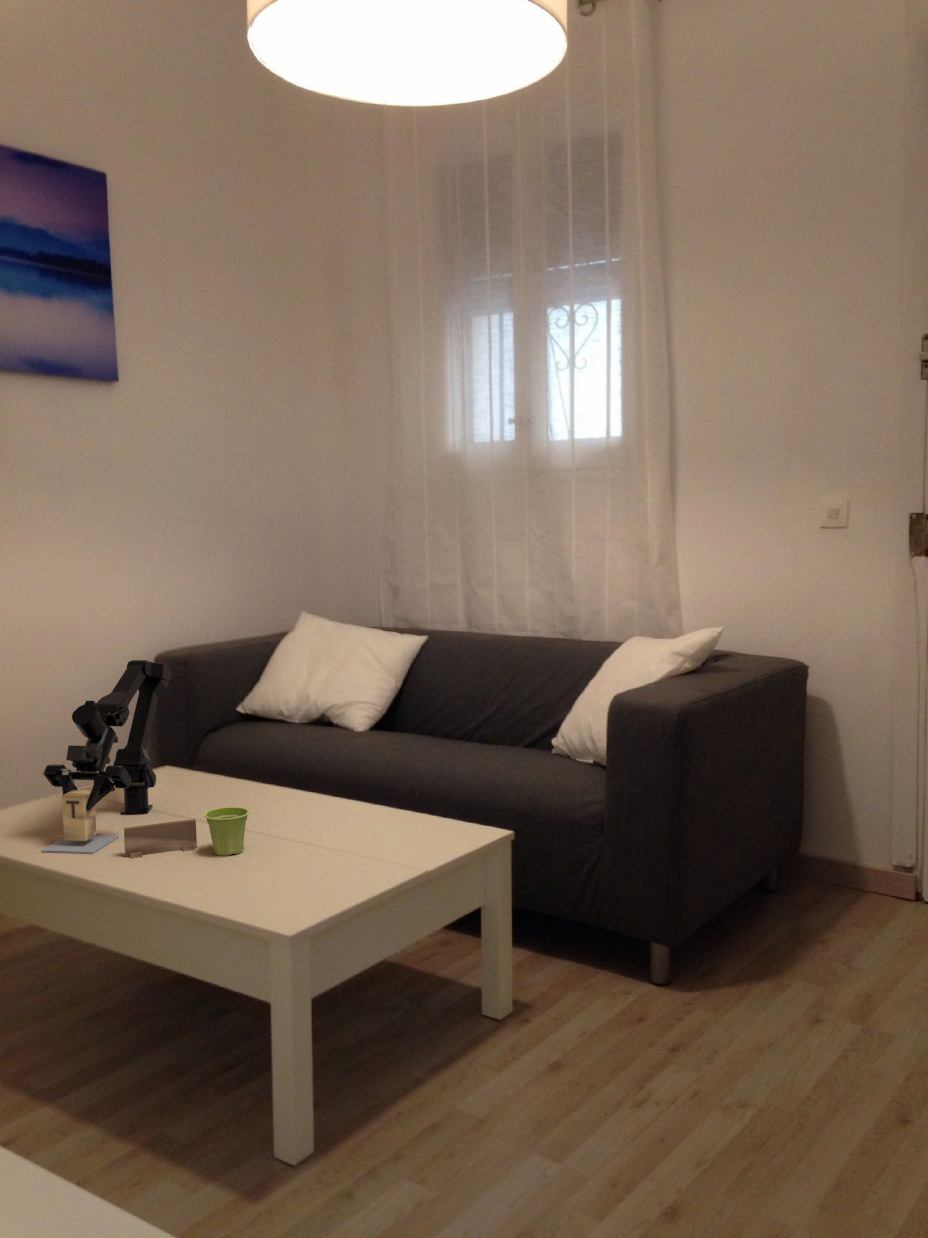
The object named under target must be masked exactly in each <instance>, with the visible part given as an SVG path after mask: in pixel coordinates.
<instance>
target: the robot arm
mask: <svg viewBox="0 0 928 1238" xmlns="http://www.w3.org/2000/svg"><path fill="white" fill-rule="evenodd" d="M122 673H123V674H122V675H121V676H120V679H119V680H118V681H117V683H116V685H115V686H114V687H113V689H112V691H110V693H108V694H107V695H105V696H102V697H101V698H100V699H99V700H98V701H95V700H85V703H84V704H82V705H80V706H78V707H77V708H76V709H75V710H74V711H73V712H72V714H71V720H72V721H73V724H74V725H75V726H76V728H77V729H78V730H79V732H80V733H81V735H82V736H84V737H85V738H86V742H85V745H72V744H71V745H68V747H67V752H66V759H65V760H66V761H70V762H72V763H71V766H72V767H73V768H75V770H71V769H69V768H67V767H66V765H64V764H47V765H46V766H45V768H44V770H43V773H42V774H43V776H44V777H45V778H46V780H47V781H48V782H49V783H50V785H51V786H53V787H56V788H61V789H62V795H64V794H66V793H68V792H70V791H72V790H79V789H78V787H77V786H76V784H75V782H76V781H77V780H78V781H93V786H92V789H91V790H92V791H91V794H90V796H89V799H88V802H87V806H86V810H87V811H89V810H90V809H91V808H93V807H94V806H95V807H96V805H97V804H98V803H100V801H101V800H103V798H105V797H106V796H107V795H109V794H110V793H111V792H115V790H116V789H123V799H124V800H123V801H124V807H123V809H122V810H121V811H120V815H133V814H134V815H137V814H139V815H140V814H148V813H149V812H150V810H151V809H152V808H153V804H149V789H150V788H154V787H155V786H156V785H157V784H156V782H157V775H156V773H155V771H153V768H152V767H151V758H150V757H149V754H148V752H147V749H148V746H149V741H150V736H151V730H152V727H153V722H154V717H155V713H156V710H157V703H158V700H159V697H160V696H162V695H163V693H165V691H166V690H167V689H168V686H169V683H170V680H171V679H172V675H173V672H172V668H171V666H169V665H168V663H166V662H164V661H163V662H158V661H157V662H152V661H150V660H147V659H132V660H129V661H128V662H127V664H126V669H125V670H124V672H122ZM137 692H138V696H137V700H136V703H135V708H134V712H133V718H132V721H131V724H130V725H131V726H130V730H129V734H128V738H127V743H126V745H125V746H124V747H123V748H118V749H117V751H116V753H115V758H114V762H113V765H108V766H107V764H110V762H111V758H110V753H111V751H112V748H113V746H114V745H113V744H118V743H119V737H118V735H117V733H116V731H115V730H114V728H113V727H115V728H116V727H117V728H118V727H124V725H125V724H126V722H127V721H128V719H129V715H130V714H131V713H130V709H129V708H130V707H129V706H130V704H131V702H132V700H133V698H134V697H135V695H136V693H137Z"/></svg>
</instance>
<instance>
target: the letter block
mask: <svg viewBox="0 0 928 1238" xmlns="http://www.w3.org/2000/svg"><path fill="white" fill-rule="evenodd" d="M91 791H92V789H91V790H89V789H77V790H72V791H70V792H68V793H66V794H64V795H63V794H62V795H61V803H62V806H61V807H62V820H63V821H62V823H63V824H62V825H63V838H64V840H75V841H86V840H88V839H89V838H91V837H93V836H94V835H97V818H96V816H97V815H96V805H95V806H94V807H93V808H91V809H90V810H89V811H87V810H86V806H87V802H88V799H89V796H90V794H91Z"/></svg>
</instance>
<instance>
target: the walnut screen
mask: <svg viewBox="0 0 928 1238" xmlns="http://www.w3.org/2000/svg"><path fill="white" fill-rule="evenodd" d="M197 837H198V836H197V820H196V819H194V818H192V819H184V820H183V819H182V820H177V821H168V822H160V823H159V822H158V823H152V824H145V825H143V824H142V825H137V826H127V827H123V838H124V839H123V841H124V856H125V858H130V859H134V858H141V857H143V855H152V854H158V853H166V852H173V851H180V850H182V852H186V851H194V850H195V848H198V842H197V841H198V839H197Z"/></svg>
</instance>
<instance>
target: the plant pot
mask: <svg viewBox="0 0 928 1238" xmlns="http://www.w3.org/2000/svg"><path fill="white" fill-rule="evenodd" d="M249 814H250V809H248V808H245V807H241V806H228V807H227V806H225V807H218V808H214V809H210V810H208V811H206V812H205V813H204V815H203V816H204V818H205V819H206V822H207V823H206V824H207V825H208V828H209V833H210V837H211V841H212V842H211V843H212V849H213V853H215V855H217V856H225V857H227V856H228V857H229V856H231V855H232V854H235V855H238V854H240V853H241V852H243V851H244V842H245V841H244V840H245V832H246V831H245V830H246V822H247V819H248V816H249Z"/></svg>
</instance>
